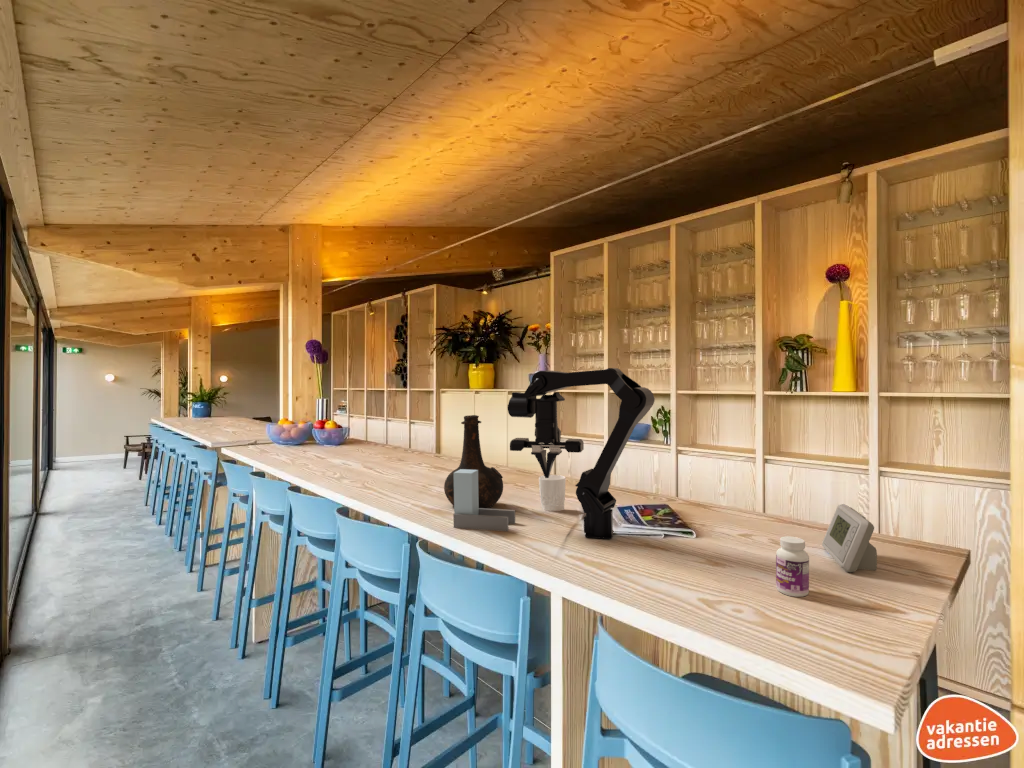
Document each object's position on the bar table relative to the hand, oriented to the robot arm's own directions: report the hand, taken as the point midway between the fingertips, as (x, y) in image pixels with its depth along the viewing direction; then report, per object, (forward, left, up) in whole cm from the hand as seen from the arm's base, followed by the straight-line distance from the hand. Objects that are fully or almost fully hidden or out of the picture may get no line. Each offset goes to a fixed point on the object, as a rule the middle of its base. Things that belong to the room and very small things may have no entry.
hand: (547, 477), depth 141 cm
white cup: (+2, -16, -13) cm, 21 cm away
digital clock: (-66, +10, -13) cm, 69 cm away
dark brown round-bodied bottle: (+26, -15, -13) cm, 33 cm away
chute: (+16, +5, -13) cm, 21 cm away
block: (+21, +5, -12) cm, 25 cm away
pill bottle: (-52, +30, -13) cm, 62 cm away
